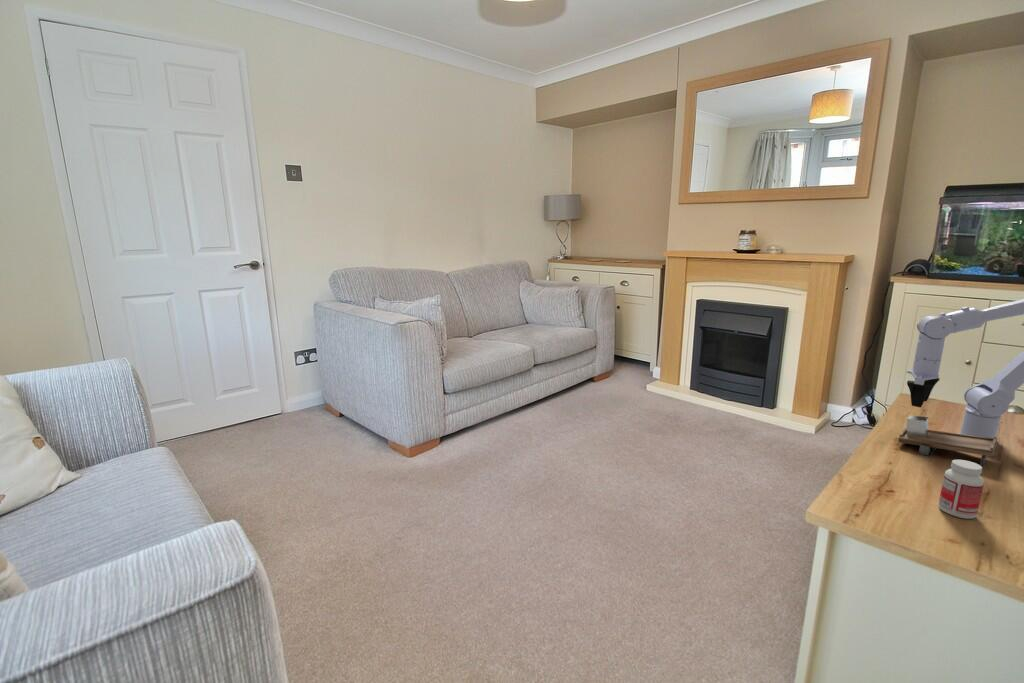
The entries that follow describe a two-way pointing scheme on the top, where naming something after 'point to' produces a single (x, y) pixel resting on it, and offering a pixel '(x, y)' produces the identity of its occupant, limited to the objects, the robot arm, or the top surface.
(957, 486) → the pill bottle
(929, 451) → the beam stand
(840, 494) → the top surface
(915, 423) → the block
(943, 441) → the balance beam
